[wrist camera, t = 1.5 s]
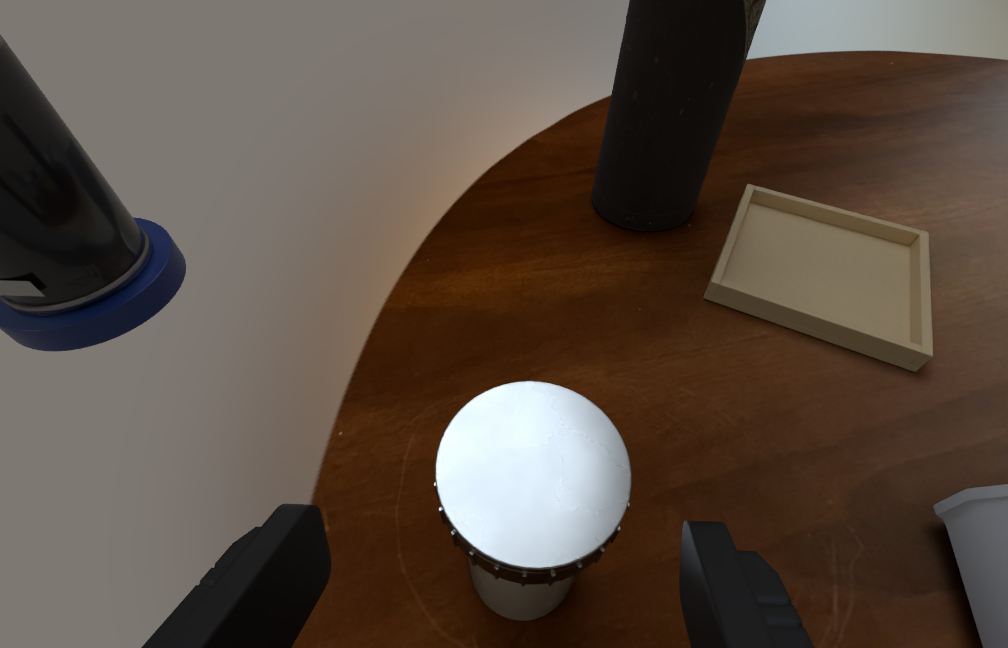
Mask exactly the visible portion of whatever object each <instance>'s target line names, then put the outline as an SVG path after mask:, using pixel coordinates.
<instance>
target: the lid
mask: <svg viewBox="0 0 1008 648" xmlns="http://www.w3.org/2000/svg"><path fill="white" fill-rule="evenodd" d="M434 487H435V491H436V494H437V498H438V500H439V501H440V504H441V507H440V508H439V511H440V515H441V518H442V522H443V524H446V525H447V527H448V529H449V531H450V534H451V535H452V539H453V543H454V545H455V547H457V546H459V548H460V549H461V550H462V551H463V552H464V554H465V555H466V556H467V557H468V558H469V559H471V563H472V565H473V566H475V565H478V566H479V567H481V568H482V569H483V570H485V571H486V572H488V573H490V574H492V575H494V576H495V579H496V580H498V579H499V578H501V579H504V580H507V581H510V582H515V583H520V584H521V587H525V584H534V585H538V584H548V586H552V584H553V582H557V581H561V580H564V579H566V578H569V577H571V576H573V577H574V578H576V577H577V576H578V574H579V572H580V571H582V570H584V569H585V568H587V567H588V566H589V565H590V564H591V563H593V562H595V563H597V562H598V561H599V559H600V558H601V556H602V554H603V552H604V551H605V548H606V547H607V545H608V543H609V542H611V543H613V541H614V539H615V538H616V536H617V534H618V533H619V531H620V529H621V528H620V527H619V525H620V523H621V521H622V519H623V517H624V514H625V513H626V511H627V509H628V507H629V499H630V494H631V487H632V473H631V465H630V459H629V456H628V452H627V449H626V446H625V444H624V442H623V439H622V437H621V435H620V434H619V432H618V430H617V428H616V427H615V425H614V424H613V423H612V421H611V420H610V419H609V417H608V416H607V415H606V414H605V413H604V412H603V411H602V410H601V409H600V408H599V407H597V406H596V405H595V404H594V403H593V402H591V401H590V400H588V399H587V398H585V397H584V396H582V395H580V394H579V393H577V392H575V391H573V390H570V389H568V388H565V387H562V386H559V385H555V384H552V383H546V382H539V381H521V382H513V383H508V384H503V385H500V386H497V387H494V388H492V389H489V390H487V391H485V392H483V393H481V394H480V395H478V396H476V397H475V398H473V399H472V400H471V401H469V402H468V403H467V404H466V405H465V406H464V407H463V408H461V409H460V410H459V411H458V412H457V414H456V415H455V416H454V418H453V419H452V420H451V421H450V423H449V425H448V426H447V428H446V430H445V431H444V434H443V436H442V438H441V441H440V443H439V447H438V451H437V455H436V462H435V483H434Z"/></svg>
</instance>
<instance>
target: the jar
mask: <svg viewBox="0 0 1008 648" xmlns="http://www.w3.org/2000/svg"><path fill="white" fill-rule="evenodd" d="M467 560H468V565H469V570H470V575H471V578H472V582H473V585H474V587H475V589H476V591H477V593H478V595H479V596H480V598H481V599H482V600H483V602H484V603H485V604H486V605H487V606H488V607H489V608H490V609H492V610H493V611H494V612H496V613H498V614H499V615H501V616H503V617H506V618H509V619H513V620H521V621H526V620H533V619H537V618H540V617H543V616H545V615H547V614H548V613H550V612H552V611H553V610H554V609H555V608H556V607H558V605H559V604H560V603H561V602H562V601H563V599H564V598H565V596H566V595H567V593H568V591H569V589H570V587H571V585H572V583H573V581H574V577H573V576H571V577H569V578H566V579H564V580H561V581H557V582H553V584H552V586H548V584H538V585H534V584H525V587H521V584H520V583H515V582H510V581H507V580H504V579H501V578H499V579H498V580H496V579H495V576H494V575H492V574H490V573H488V572H486V571H485V570H483V569H482V568H481V567H479V566H478V565H475V566H473V565H472V563H471V559H469V558H468V557H467Z"/></svg>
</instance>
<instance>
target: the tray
mask: <svg viewBox="0 0 1008 648" xmlns="http://www.w3.org/2000/svg"><path fill="white" fill-rule="evenodd" d="M703 298H704V299H707V300H710V301H713V302H716V303H719V304H721V305H724V306H727V307H730V308H733V309H736V310H739V311H741V312H744V313H747V314H750V315H753V316H756V317H759V318H761V319H764V320H767V321H770V322H773V323H776V324H779V325H782V326H784V327H787V328H790V329H793V330H796V331H799V332H802V333H804V334H807V335H810V336H813V337H816V338H819V339H822V340H824V341H827V342H830V343H833V344H836V345H839V346H842V347H844V348H847V349H850V350H853V351H856V352H859V353H862V354H864V355H867V356H870V357H873V358H876V359H879V360H882V361H885V362H887V363H890V364H893V365H896V366H899V367H902V368H905V369H907V370H910V371H913V372H916V371H917V370H918V369H919V368H920V367H921V366H923V365H924V364H925V363H926V362H927V361H928V360H930V359H931V358H932V357H933V338H932V312H931V286H930V259H929V233H928V232H925V231H921V230H920V231H919V230H917V229H914V228H910V227H906V226H903V225H899V224H895V223H891V222H888V221H884V220H880V219H877V218H873V217H869V216H865V215H862V214H858V213H854V212H851V211H847V210H843V209H839V208H836V207H832V206H828V205H825V204H821V203H817V202H813V201H810V200H806V199H802V198H799V197H795V196H791V195H787V194H784V193H780V192H776V191H773V190H769V189H765V188H761V187H758V186H754V185H750V184H747V186H746V189H745V191H744V193H743V195H742V197H741V200H740V202H739V205H738V207H737V210H736V213H735V215H734V218H733V221H732V223H731V226H730V228H729V231H728V234H727V236H726V239H725V241H724V244H723V247H722V249H721V252H720V255H719V257H718V260H717V262H716V265H715V268H714V270H713V273H712V276H711V278H710V281H709V283H708V286H707V289H706V291H705V294H704V296H703Z"/></svg>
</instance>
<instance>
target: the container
mask: <svg viewBox="0 0 1008 648" xmlns="http://www.w3.org/2000/svg"><path fill="white" fill-rule="evenodd" d="M765 2H766V0H630V2H629V8H628V13H627V16H626V24H625V29H624V34H623V39H622V44H621V48H620V54H619V59H618V65H617V69H616V75H615V80H614V85H613V90H612V96H611V101H610V106H609V111H608V116H607V121H606V126H605V131H604V136H603V141H602V146H601V150H600V155H599V160H598V165H597V170H596V174H595V180H594V185H593V192H592V201H593V204H594V206H595V208H596V210H597V211H598V212H599V213H600V214H601V215H602V216H603V217H604V218H606V219H607V220H609V221H611V222H613V223H615V224H617V225H619V226H622V227H625V228H629V229H633V230H640V231H660V230H666V229H670V228H673V227H676V226H678V225H680V224H682V223H683V222H684V221H686V220H687V219H688V218H689V217H690V215H691V214H692V211H693V209H694V206H695V204H696V201H697V199H698V196H699V193H700V190H701V188H702V185H703V182H704V179H705V176H706V173H707V170H708V167H709V164H710V161H711V158H712V155H713V152H714V150H715V147H716V144H717V141H718V138H719V135H720V132H721V129H722V126H723V123H724V120H725V117H726V114H727V111H728V109H729V106H730V103H731V100H732V97H733V94H734V91H735V89H736V86H737V83H738V81H739V77H740V75H741V72H742V69H743V66H744V63H745V60H746V58H747V54H748V51H749V48H750V46H751V43H752V39H753V36H754V33H755V31H756V28H757V25H758V22H759V19H760V17H761V14H762V11H763V8H764V5H765Z"/></svg>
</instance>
